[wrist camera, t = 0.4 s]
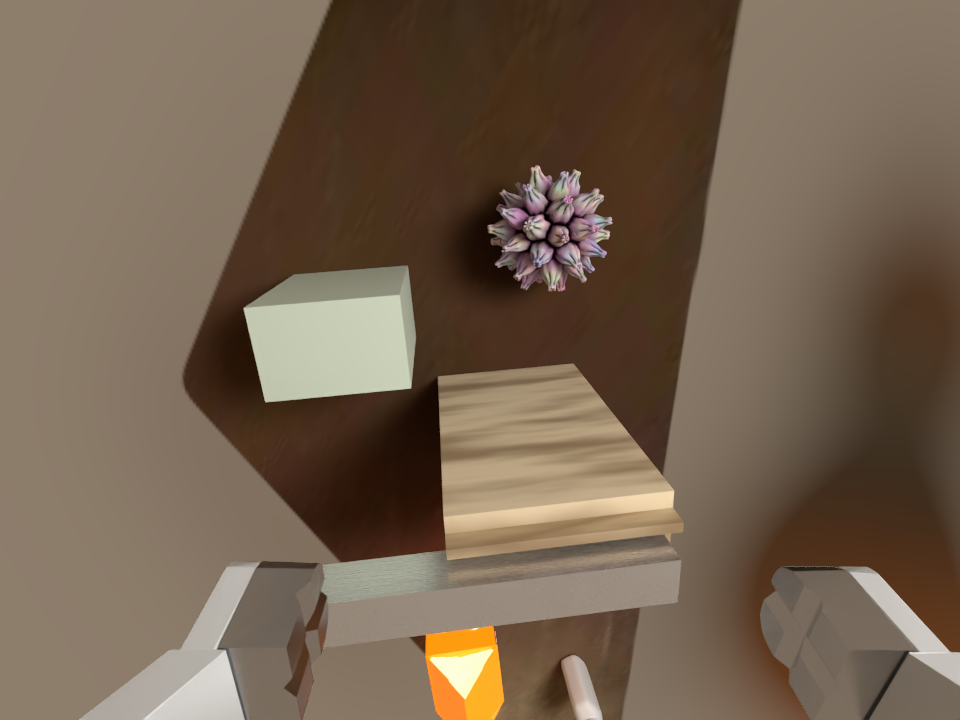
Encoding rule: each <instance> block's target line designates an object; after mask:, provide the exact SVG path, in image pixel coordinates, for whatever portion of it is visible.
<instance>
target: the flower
mask: <svg viewBox="0 0 960 720" xmlns="http://www.w3.org/2000/svg"><path fill="white" fill-rule="evenodd" d="M580 174H581V172H579V171H576V170H573V171H572V172H571V174H570V176H569V177H568V172H565V171H564V172H561V174H560V177H559V178H558V180H556V181H555V182H554V183H553V182H552V178H551V176H550V175H549V176H548V177H545V176H544V175H543V174H542V172H541V169H540V166H537V165H536V166H535V167H531V168H530V182H529V184H527V185H524V184H523V186H522V184H521V183H520V182H517V184H515V185H516V187H517V189H518V195H516V194H511V193H508V192H506V191H505V190H502V192H500V193H499V194H500V196H501V197H502V198H503V199H504V201H505V203H506V204H507V205H506V206H504V205H502V204H499V205H498V206H497V209H496V210H497V211H498V212H500V214H501V215H502V217H503V220H501V221H499V222H497V223H496V224H493V225H488V226H487V227H488V233H492V234H495V235H496V236H497V237H495V238H491V245H499V246H502V252H503V254H502V256H501V257H500V259H499V260H498V261H497V262H495V265H496V266H498V268H500V267H502V266H506V265H508V268H509V270H511V271H512V270H514V269H515V268H517V269H516V272H515V274H514V276H513V277H514V278H515V280H518V281H519V280H520V279H521V278H522V284H521V289H525V290H527V289H528V287H529V286H530V285H531V284H532V283H533V282H535V281H536V282H538V283H542V281H543V280H544V281H545V283H546V284H547V287H548V291H553V290H554V291H555V289H556V287H557V290H558V291H563V290H565V281H566V278H567V275H568V274H570V275H572V276H574V277H576V278H578V279H579V280H580V281H581V282H582V283H583V282H586V280H587V279H586V277H585V275H584V273H583V269H584V270H587V271H588V272H589V273H591V272H592V271H594V270H595V269H594V267H593V266H592V265H591V263H590V258H589V257H594V256H600V257H603V258H604V257H605V255H606V254H607V252H606V251H604V250H602V249H601V248H600V247H599V246H598V245H597V244H596V243H597V242H598V241H600V240H603V239H609V236H610V235H609V233H610V232H609V231H608V230H603V229H602V228H604V227H605V226H607V225H610V224H612V222H611V221H612V219H611V217H601V216H599V215H596V214H593V213H594V211H595V209H596V207H597V206H598V204H599V203H600V202H602V201H603V200H604V199H603V198H604V196H603V195H601V194H599V189H594V190H592V191H591V192H589V193H583V194H579V189H580V185H579V183H578V180H579V177H580ZM578 194H579V195H578Z"/></svg>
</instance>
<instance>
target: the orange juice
mask: <svg viewBox="0 0 960 720" xmlns="http://www.w3.org/2000/svg"><path fill="white" fill-rule="evenodd" d="M495 635H496V634H495ZM496 641H497V639H496ZM425 656H426V661H427V666H428V672H429V677H430V682H431V688H432V693H433V698H434V703H435V709H436V713H438V714H439V715H440V716H441V718H442V719H443V720H494V719H495V717H496V715H497V713H498V711H499V709H500V707H501V705H502V703H503V701H504V697H503V689H502V681H501V673H500V665H499V664H500V663H499V656H498V648H497V645H496V644H495V637H494V630H493V626H490V627H483V628H475V629H467V630H460V631H452V632H444V633H436V634H429V635H426V655H425Z"/></svg>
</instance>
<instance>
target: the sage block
mask: <svg viewBox="0 0 960 720" xmlns="http://www.w3.org/2000/svg"><path fill="white" fill-rule="evenodd" d="M244 312H245V317H246V321H247V325H248V330H249V334H250V338H251V343H252V347H253V351H254V356H255V360H256V364H257V368H258V373H259V377H260V381H261V386H262V390H263V394H264V399H265V402H275V401H285V400H296V399H306V398H316V397H327V396H337V395H347V394H358V393H368V392H378V391H389V390H399V389H409V388H411V384H412V374H413V363H414V352H415V341H416V333H415V324H414V316H413V307H412V298H411V289H410V281H409V272H408V266H396V267H383V268H371V269H359V270H346V271H334V272H321V273H309V274H296V275H292V276H291V277H289V278H288V279H286V280H285V281H283V282H282V283H280V284H279V285H277V286H276V287H274V288H273V289H271V290H270V291H268V292H267V293H265V294H264V295H262V296H261V297H259V298H258V299H256V300H255V301H253V302H252V303H250V304H249V305H247V306H246V307H244Z"/></svg>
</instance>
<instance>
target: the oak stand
mask: <svg viewBox="0 0 960 720" xmlns="http://www.w3.org/2000/svg"><path fill="white" fill-rule="evenodd" d="M438 392H439V417H440V442H441V468H442V493H443V517H444V527H445V539H446V555H447V560H454V559H462V558H470V557H479V556H487V555H495V554H504V553H512V552H520V551H529V550H537V549H545V548H554V547H562V546H570V545H579V544H587V543H595V542H604V541H612V540H620V539H629V538H637V537H645V536H654V535H662V534H664V535H665V536H666V538H667V539H668V541H669V542H670V539H671V533H678V532H683V525H684V522H683V521H682V519H681V518H680V516H679V515H678V514H677V512H676V511H675V510H674V508H673V499H674V490H673V489H672V487H671V486H670V485H669V484H668V482H667V481H666V480H665V478H664V477H663V476H662V475H661V473H660V472H659V471H658V470H657V468H656V467H655V466H654V465H653V463H652V462H651V461H650V460H649V458H648V457H647V456H646V455H645V453H644V452H643V451H642V450H641V448H640V447H639V446H638V445H637V443H636V442H635V441H634V439H633V438H632V437H631V436H630V434H629V433H628V432H627V431H626V429H625V428H624V427H623V426H622V424H621V423H620V422H619V421H618V419H617V418H616V417H615V416H614V414H613V413H612V412H611V411H610V409H609V408H608V407H607V405H606V404H605V403H604V402H603V400H602V399H601V398H600V397H599V395H598V394H597V393H596V392H595V390H594V389H593V388H592V387H591V385H590V384H589V383H588V382H587V380H586V379H585V378H584V377H583V375H582V374H581V373H580V372H579V370H578V369H577V368H576V366H575V365H574V364H564V365H553V366H543V367H533V368H522V369H512V370H501V371H491V372H480V373H470V374H459V375H449V376H438Z"/></svg>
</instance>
